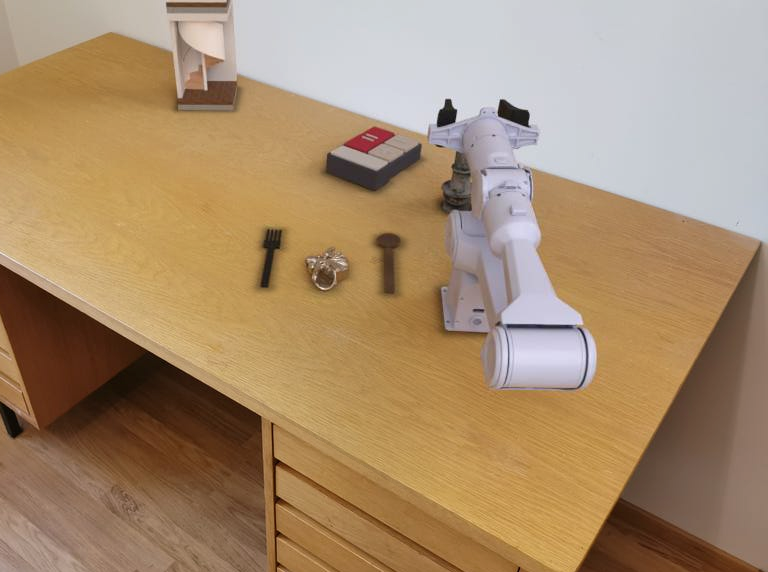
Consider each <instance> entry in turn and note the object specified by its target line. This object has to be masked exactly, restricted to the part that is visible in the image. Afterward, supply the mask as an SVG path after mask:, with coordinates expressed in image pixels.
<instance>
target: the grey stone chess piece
mask: <svg viewBox="0 0 768 572" xmlns="http://www.w3.org/2000/svg"><path fill="white" fill-rule="evenodd" d="M453 162H454V163H452V164H451V170H452V172H451V178H450V179H448V180H446V181H444V182H442V183H441V191H442V195H443V198H444V199H443V200H442V201H441V202H440V209H441V210H442V211H443V212H444V213H446V214H448V215H449V214H450V213H451V212H452V211H453V210H458V211H472V206H471V189H472V183H473V181H472V182H471V179H472V177H471V173H470V169H469V166H468V162H467V158H466V155H465V154H463V153H460V152H458V151H455V156H454V161H453Z"/></svg>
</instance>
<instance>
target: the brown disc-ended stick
mask: <svg viewBox="0 0 768 572" xmlns="http://www.w3.org/2000/svg"><path fill="white" fill-rule="evenodd" d="M400 245H401V237H400V236H398V235H397V234H396V233H395V234H394V233H391V232H390V233H389V232H387V233H382V234H380V235H379V236H378V237H377V246H379V247H380V248H382V249H384V293H385V294H395V263H394V249H397V248H398V247H400Z"/></svg>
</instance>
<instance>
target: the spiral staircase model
mask: <svg viewBox="0 0 768 572" xmlns="http://www.w3.org/2000/svg"><path fill="white" fill-rule="evenodd" d="M233 1H234V0H165V8H166V17H167V21H168V23H169V31H170V40H171V51H172V58H173V59H172V60H173V67H174V77H175V84H176V94H177V100H176V103H177V110H178V111H234V108H235V103H236V99H237V94H238V89H239V88H238V74H237V55H236V38H235V20H234V3H233Z"/></svg>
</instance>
